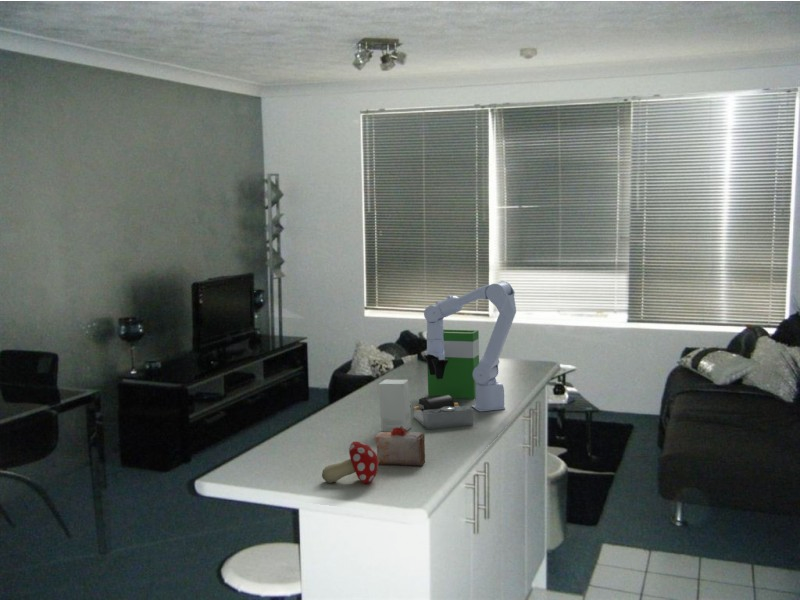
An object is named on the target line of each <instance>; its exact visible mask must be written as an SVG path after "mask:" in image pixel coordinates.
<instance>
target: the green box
mask: <svg viewBox="0 0 800 600" xmlns="http://www.w3.org/2000/svg"><path fill="white" fill-rule="evenodd" d="M479 337H480V336H479V330H473V329H469V330H468V329H444V328H443V338H444V354H445V359H448V362H447V364H446V367H445V370H444V375H443V379H437V378H436V375H430V372H429V368H428V364H427V363H426V364H427V395H428V397H433V396H437V395H441V396H445V395H450V396H451V397H452V399H453V398H454V399H470V400H476V392H475V380H474V379H473V370H474V369H475V368H476V367H477V366H478V364H479V362H480V346H479V345H480V344H479V343H480V342H479V341H480V340H479V339H480V338H479ZM427 348H428V346H427V345H426V349H427ZM426 355H428V354H426Z"/></svg>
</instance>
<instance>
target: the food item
mask: <svg viewBox="0 0 800 600" xmlns="http://www.w3.org/2000/svg"><path fill="white" fill-rule="evenodd" d="M425 435H426V434H425V433H424V432H418V431H416V432H415V431H408V430H406V429H404V428H403V427H402V425H401V426H400V428H398V427H397V428H394V429H393V430H392V432H387V431H380V432H378V433H377V434H376V435H375V437H374V442H375V446H376V455H377V458H378V465H391V466H392V465H395V466H396V465H397V466H413V467H414V466H417V467H418V466H419V467H421V466H422V467H423V465H425V461H426V453H425V452H426V451H425V449H426V447H425V438H426V437H425Z"/></svg>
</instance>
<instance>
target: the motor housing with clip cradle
mask: <svg viewBox="0 0 800 600" xmlns="http://www.w3.org/2000/svg"><path fill="white" fill-rule="evenodd" d="M420 408H421V407H420V406H419V405H416V406H413V417H414V419H415V420H417V421H418V422H419V423H420V424H421V425H422V426H423V427H425V428H426V429H427V430H435V429H445V428H456V427H464V426H465V427H466V426H473V425H474V411H473V410H474V409H473V408H471V407H470V406H468V405H466V406H465V405H463V406H460V405H459V403H458V402H454V407H451V406H445V407H441V409H431V410H423V412H422V411H421V410H420Z"/></svg>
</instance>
